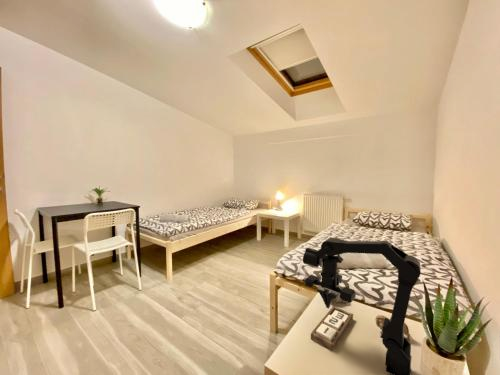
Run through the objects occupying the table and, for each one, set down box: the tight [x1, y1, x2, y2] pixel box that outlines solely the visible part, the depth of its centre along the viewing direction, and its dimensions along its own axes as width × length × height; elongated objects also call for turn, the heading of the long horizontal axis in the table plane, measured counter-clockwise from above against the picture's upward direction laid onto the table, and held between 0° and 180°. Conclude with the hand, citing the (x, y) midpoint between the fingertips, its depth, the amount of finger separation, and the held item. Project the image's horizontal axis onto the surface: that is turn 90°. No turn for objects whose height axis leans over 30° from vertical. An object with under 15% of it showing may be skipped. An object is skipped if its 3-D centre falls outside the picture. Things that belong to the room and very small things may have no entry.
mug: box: [329, 290, 348, 304], centre depth 113 cm, size 8×10×10 cm
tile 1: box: [316, 323, 337, 342], centre depth 87 cm, size 6×6×2 cm
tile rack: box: [310, 305, 354, 352], centre depth 93 cm, size 9×24×2 cm, turn 139°
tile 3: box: [332, 310, 348, 322], centre depth 99 cm, size 6×6×2 cm
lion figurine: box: [375, 314, 411, 342], centre depth 89 cm, size 15×5×9 cm, turn 93°
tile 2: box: [324, 315, 343, 331], centre depth 93 cm, size 6×6×2 cm
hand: (328, 307), depth 87 cm, fingers closed
